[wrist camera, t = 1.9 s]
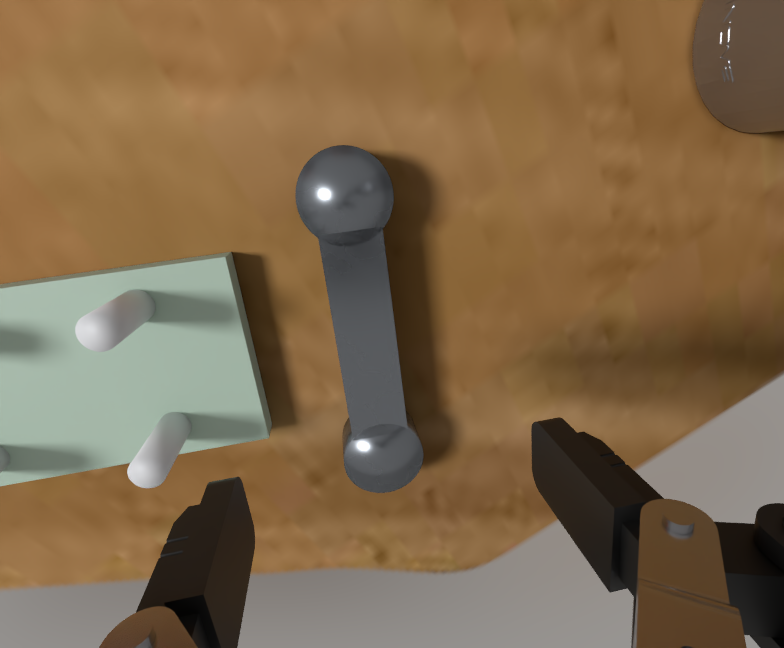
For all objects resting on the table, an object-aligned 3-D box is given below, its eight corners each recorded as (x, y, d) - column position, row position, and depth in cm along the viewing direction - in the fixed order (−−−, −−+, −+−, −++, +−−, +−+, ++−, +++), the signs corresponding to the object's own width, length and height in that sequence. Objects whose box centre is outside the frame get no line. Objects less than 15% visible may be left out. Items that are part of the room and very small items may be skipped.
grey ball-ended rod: (291, 154, 22) (287, 151, 19) (380, 143, 22) (387, 139, 20) (348, 471, 28) (350, 499, 25) (418, 457, 28) (427, 484, 26)
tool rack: (231, 251, 23) (203, 273, 18) (272, 423, 26) (258, 485, 21) (-161, 306, 21) (-319, 348, 16) (-65, 483, 24) (-171, 565, 19)
